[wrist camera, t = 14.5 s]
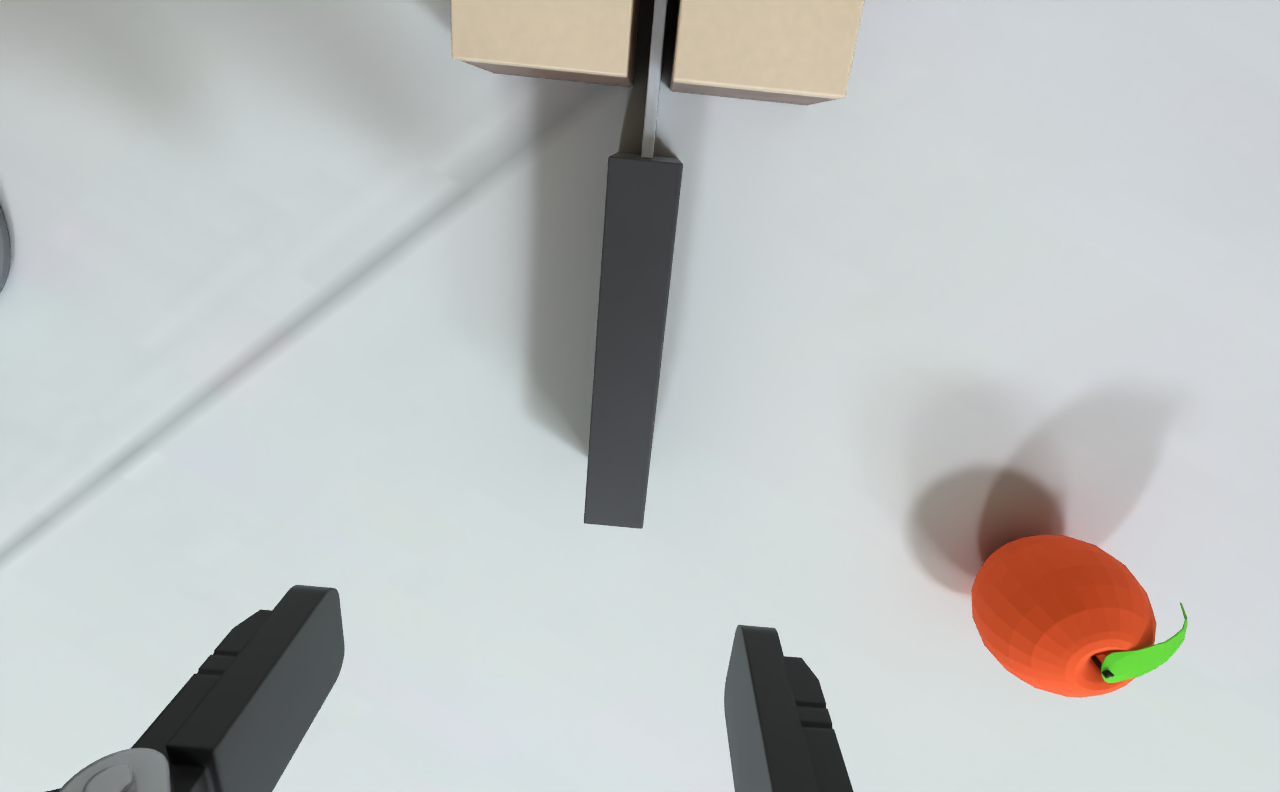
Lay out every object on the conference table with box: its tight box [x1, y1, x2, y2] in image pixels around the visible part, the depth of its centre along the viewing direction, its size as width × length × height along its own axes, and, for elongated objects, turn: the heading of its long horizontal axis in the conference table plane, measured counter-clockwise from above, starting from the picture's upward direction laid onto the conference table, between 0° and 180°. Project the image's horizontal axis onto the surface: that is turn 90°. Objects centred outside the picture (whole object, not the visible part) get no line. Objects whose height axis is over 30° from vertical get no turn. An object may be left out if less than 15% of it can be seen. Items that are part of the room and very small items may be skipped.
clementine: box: [972, 535, 1187, 697], centre depth 28 cm, size 8×7×7 cm
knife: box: [584, 0, 683, 528], centre depth 23 cm, size 23×2×5 cm, turn 175°
